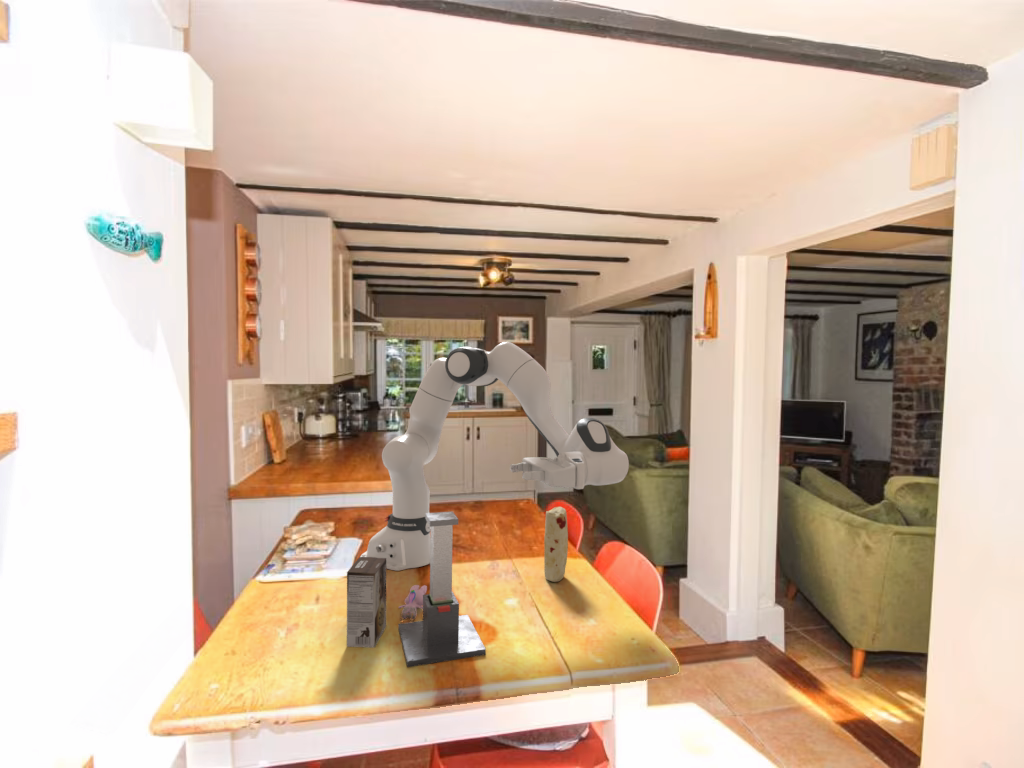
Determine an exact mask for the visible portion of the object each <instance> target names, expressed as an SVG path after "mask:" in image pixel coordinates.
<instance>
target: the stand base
mask: <svg viewBox="0 0 1024 768" xmlns="http://www.w3.org/2000/svg"><path fill="white" fill-rule="evenodd" d="M429 594H430V593H429ZM429 594H428V593H425V595H423V605H422V607H423V610H422V620H417V621H412V622H411V621H409V622H400V623H398V626H397V627H398V630H397V631H398V632H399V638H400V642H401V646H402V650H403V654H404V655H403V656H404V658H405V664H406V667H407V668H411V667H417V666H423V665H424V666H425V665H429V664H436V663H442V662H443V663H444V662H448V661H455V660H460V659H469V658H473V657H481V656H485V655H486V654H487V653H486V651H487V650H486V647H485V645H484V643H483V641H482V640H481V637H480V635H479V634H478V632H477V630H476V628H475V626H474V624H473V623H472V620H471V618H470V616H469V614H463V615H460V612H459V611H460V603H459V601H458V599H457V598H456V595H455V594H454V592H453V590H452V600H453V601H452V603H449V604H441V605H433V606H431V605H430V600H429Z"/></svg>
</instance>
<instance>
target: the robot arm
mask: <svg viewBox="0 0 1024 768" xmlns="http://www.w3.org/2000/svg"><path fill="white" fill-rule="evenodd" d="M498 381H500V382H501V383H502V384H503V385H504V386H505V387H506V388H507V389H508V390H509V392H511V394H513V395H514V397H515V398H516V400H517V402H519V404H520V406H521V407H522V409H523V411H524V413H525V415H526V417H527V419H528V420H529V421H530V422H531V424H532V425H533V427H534V428H535V429H536V431H537V432H538V433H539V434H540V435H541V436H542V438H543V439H544V441H546V443H547V444H548V446H549V447H550V448H551V449H552V451H553V452H554V453H555V456H556V457H554V458H552V457H544V456H543V457H542V456H540V457H539V456H535V457H533V456H532V457H531V456H530V457H523V458H522V460H521V461H522V462H519V463H516V464H515V463H512V464H511V463H510V465H509V471H510V472H512V473H519V472H521V473H522V474H521V475H522V477H521V478H522V479H523V480H525V481H537V482H538V481H539V482H541V483H543V484H546V485H547V486H550V487H554V488H570V489H571V488H572V489H575V490H583V489H584V488H585V486H588V485H589V486H590V485H591V486H607V485H608V486H609V485H614V484H618V483H621V482H622V481H624V479H625V478H626V477H627V475H628V472H629V469H630V461H629V457H628V455H627V453H625V451H624V450H622V449H620V448H619V447H618V446H617V444H616V443H615V442H614V441H613V439H612V437H611V435H610V433H609V429H608V428H607V426H606V425H605V424H604V423H603V422H602V421H601V420H599V419H597V418H594V417H584V418H581V419H580V420H578V421H577V422H576V423H575V426H574V427H573V429H572V430H571V432H570V434H569V433H568V432H567V431H566V429H564V427H563V425H561V423H560V422H559V420H557V418H555V416H554V414H553V412H552V410H551V401H550V400H551V399H550V398H551V397H550V395H551V379H550V376H549V374H548V372H547V371H546V370H545V368H544V367H543V366H542V365H541V364H540V363H539V362H538V361H537V360H536V359H535V358H533V357H532V356H531V355H530V354H529V353H528V352H526V351H525V350H523V348H520V346H518V345H516V344H515V343H512V342H511V341H503V342H500V343H499V344H497V345H495V347H494V348H493V349H491V350H490V351H488V350H485V349H482V348H478V347H477V348H476V347H471V346H459V347H457V348H454V349H453V350H451V351H450V352H449V353H448V354H447V356H446V357H439V358H435V360H433V361H432V363H431V364H430V365H429V367H428V369H427V370H426V372H425V374H424V376H423V378H422V379H421V382H420V384H419V386H418V388H417V391H416V393H415V395H414V398H413V400H412V403H411V405H410V407H409V420H408V421H409V422H408V426H407V429H406V432H405V433H404V434H402V435H399V436H398V435H397V436H395V437H394V438H392V439H391V440H390V441H389V442H387V443H386V445H385V446H384V447H383V449H382V452H381V459H382V464H383V466H384V467H385V468H386V470H388V474H389V477H390V482H391V489H392V512H391V513H390V514H388V516H387V517H385V518H384V523H386V522H387V524H386V526H385V527H383V528H382V529H381V530H379V531H378V532H376V534H373V536H372V537H371V538H370V540H369V541H368V545H367V550H366V551H365V552H363V553H362V554H361V555H360V556H359V557H376V558H386V570H392V571H394V572H395V571H396V572H399V571H402V570H403V571H404V570H406V569H414V568H415V569H416V568H419V567H423V566H427V565H430V538H431V527H430V526H429V524H428V522H427V521H426V519H425V513H431V512H430V499H431V498H430V494H431V493H430V487H429V485H428V483H427V480H426V476H425V471H424V469H425V468H424V467H425V465H427V464H429V463H431V462H432V461H433V460H434V458H435V457H436V455H437V453H438V451H439V443H440V439H441V436H442V435H441V434H442V431H443V427H444V424H445V422H446V419H447V416H448V415H449V412H450V409H451V407H452V406H453V403H454V401H455V398H456V396H457V393H458V390H459V389H460V388H461V387H462V386H463V385H464V386H465V385H466V386H470V387H488V386H491V385H493V384H495V383H497V382H498Z"/></svg>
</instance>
